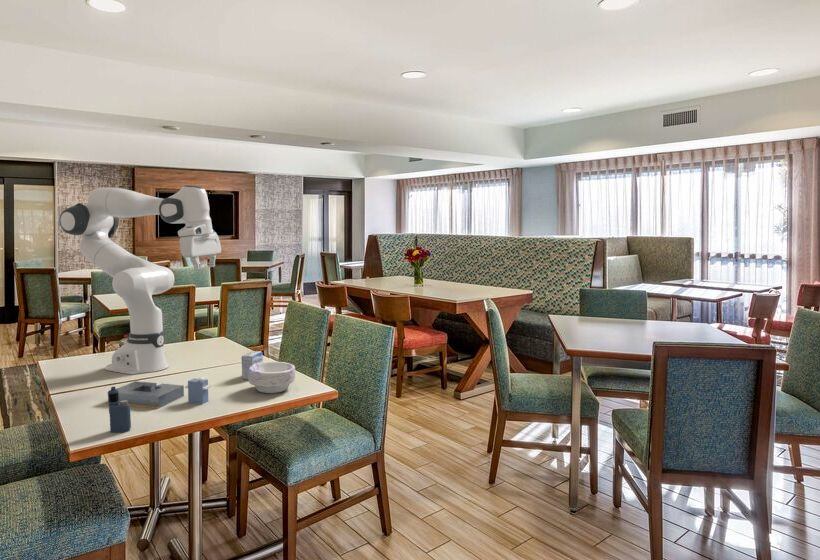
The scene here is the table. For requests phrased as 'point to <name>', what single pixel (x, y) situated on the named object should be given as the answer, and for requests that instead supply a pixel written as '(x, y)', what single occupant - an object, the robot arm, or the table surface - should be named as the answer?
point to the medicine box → (250, 362)
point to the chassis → (149, 394)
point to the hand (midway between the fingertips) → (204, 268)
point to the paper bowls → (271, 376)
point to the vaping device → (118, 412)
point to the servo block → (198, 391)
